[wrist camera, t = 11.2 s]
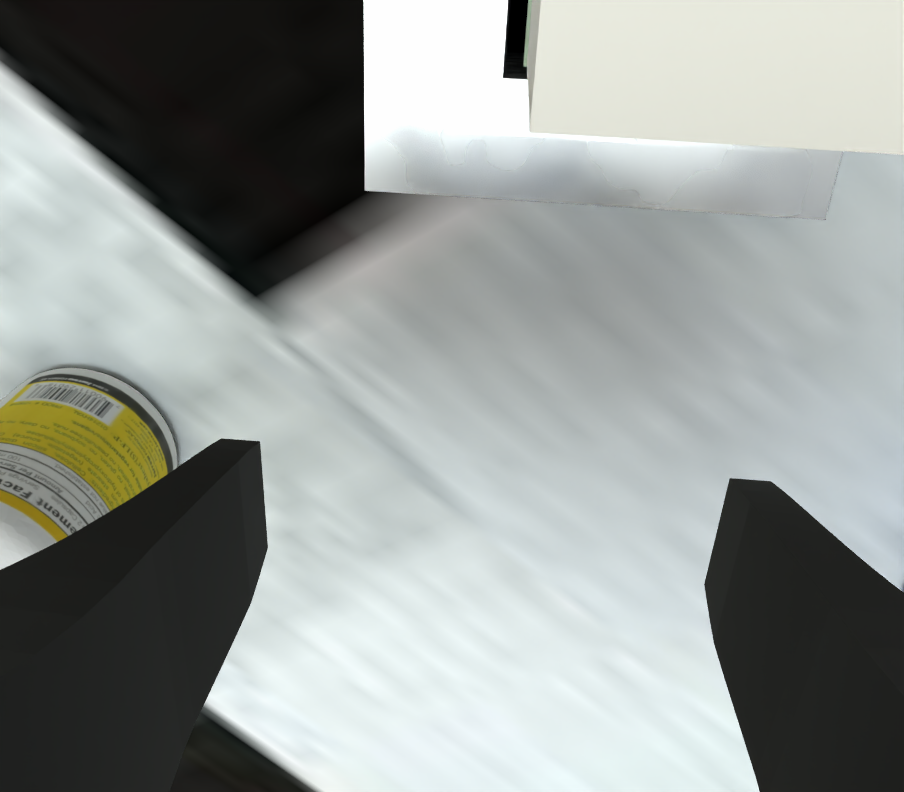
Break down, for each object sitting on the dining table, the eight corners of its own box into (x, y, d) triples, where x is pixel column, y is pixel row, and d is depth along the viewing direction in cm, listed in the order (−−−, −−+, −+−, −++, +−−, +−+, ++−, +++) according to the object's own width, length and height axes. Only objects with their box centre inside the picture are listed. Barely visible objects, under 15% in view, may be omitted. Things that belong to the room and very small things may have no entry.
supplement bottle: (83, 536, 27) (-123, 804, 18) (-28, 403, 25) (-319, 635, 16) (218, 480, 26) (62, 743, 17) (112, 333, 24) (-127, 548, 15)
